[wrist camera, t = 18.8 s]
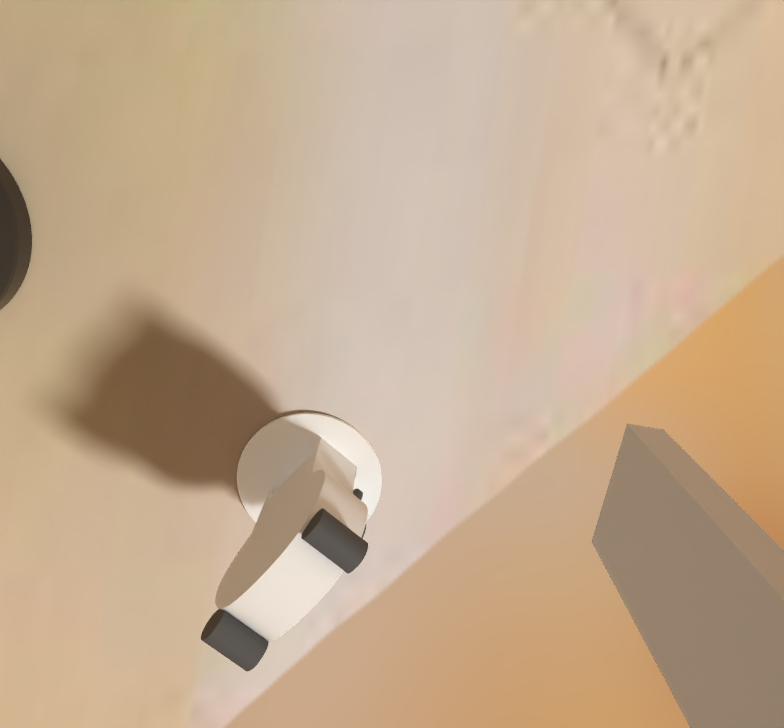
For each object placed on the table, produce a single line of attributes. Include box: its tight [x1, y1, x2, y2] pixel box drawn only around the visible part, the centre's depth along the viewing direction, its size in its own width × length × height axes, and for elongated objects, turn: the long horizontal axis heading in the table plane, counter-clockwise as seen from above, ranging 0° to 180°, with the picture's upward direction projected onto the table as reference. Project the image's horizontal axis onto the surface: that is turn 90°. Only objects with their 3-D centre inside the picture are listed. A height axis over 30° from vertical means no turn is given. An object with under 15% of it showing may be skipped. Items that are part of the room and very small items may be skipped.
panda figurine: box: [201, 412, 382, 671], centre depth 47 cm, size 12×11×15 cm
